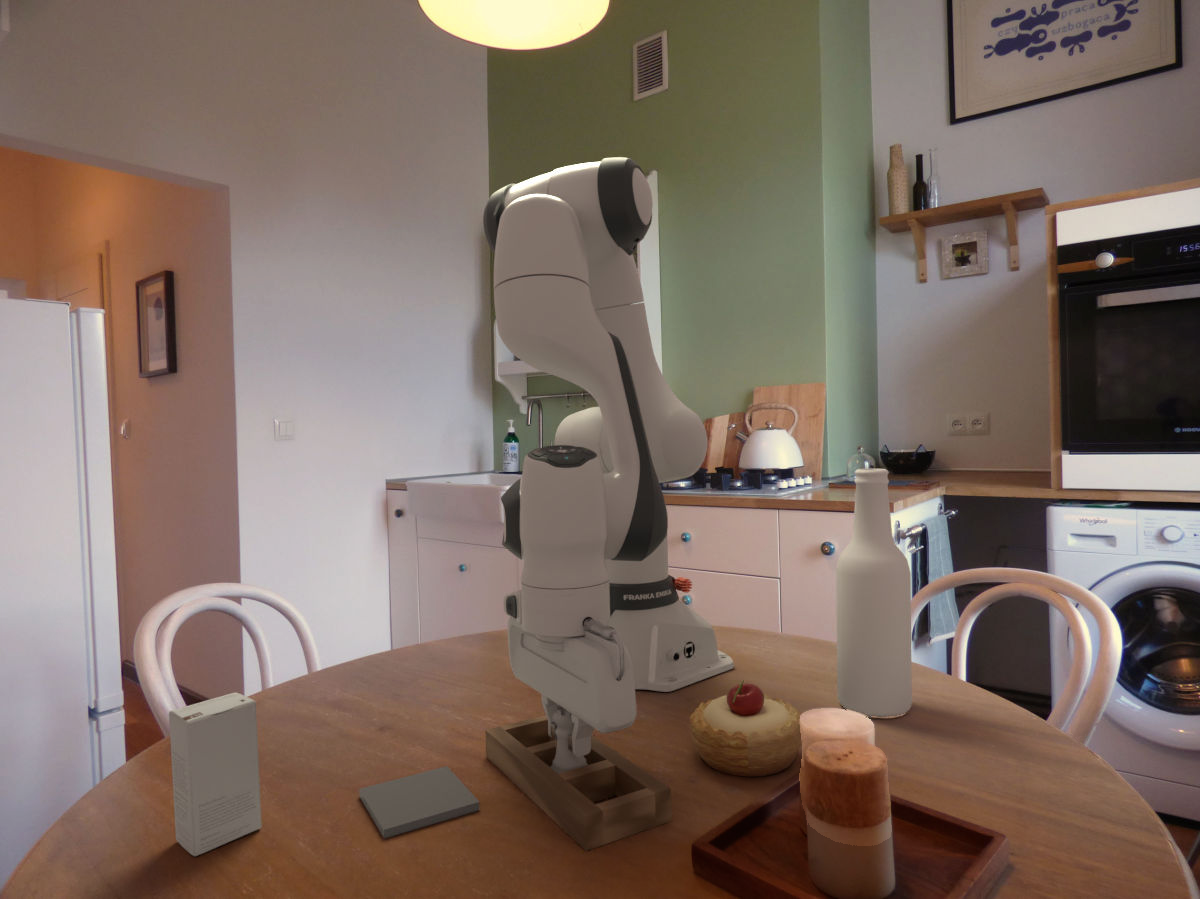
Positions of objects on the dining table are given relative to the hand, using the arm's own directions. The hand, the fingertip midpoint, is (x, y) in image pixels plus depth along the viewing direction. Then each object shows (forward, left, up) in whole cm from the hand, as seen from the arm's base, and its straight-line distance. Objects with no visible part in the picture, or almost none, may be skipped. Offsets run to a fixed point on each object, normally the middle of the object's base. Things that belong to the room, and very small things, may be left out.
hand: (569, 745), depth 76 cm
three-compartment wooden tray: (0, 0, -4) cm, 4 cm away
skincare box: (+31, -9, -4) cm, 33 cm away
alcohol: (-42, +3, -4) cm, 42 cm away
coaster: (+14, -5, -4) cm, 15 cm away
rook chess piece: (0, 0, -4) cm, 4 cm away
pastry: (-19, +5, -4) cm, 20 cm away
